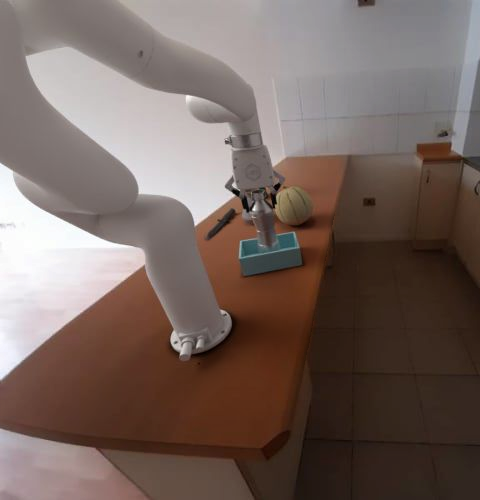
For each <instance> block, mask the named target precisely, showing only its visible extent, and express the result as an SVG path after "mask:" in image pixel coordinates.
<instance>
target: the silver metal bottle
mask: <svg viewBox="0 0 480 500" xmlns="http://www.w3.org/2000/svg"><path fill="white" fill-rule="evenodd" d="M251 195H252V199H253V202H252V204H251V206H250V210H249V212H250V215H251V217H252V220H253V222H254V224H253V225H254V229H255V232H256V238H257V239H258V250H259V253H260V254H263V253H268V252H274V251H279V250H280V243H279V240H278V238H277V235H278V234H277V232H276V227H275V219H274V218H275V217H274V208H273V206H272V203H271V202H269V200H267V199H266V198H267V197H266V195H265V190H262V189H259V190H254V191H252V192H251Z"/></svg>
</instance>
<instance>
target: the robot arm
mask: <svg viewBox="0 0 480 500" xmlns="http://www.w3.org/2000/svg"><path fill="white" fill-rule="evenodd" d="M62 48H71V49H72V50H73V49H74V50H75V51H77V52H79V53H81V54H82V55H85V56H87V57H88V58H90V59H92V60H94V61H96V62H98V63H100V64H101V65H103V66H104V67H105V66H106V67H107V68H109V69H111V70H112V71H115V72H116V73H118V74H120V75H122V76H123V77H125V78H127V79H129V80H130V81H132V82H134V83H136V84H138V85H140V86H142V87H144V88H147V89H150V90H154V91H157V92H162V93H166V94H167V93H168V94H174V95H175V94H176V95H182V96H183V95H184V96H185V105H186V108H187V111H188V112H189V114H190V116H192V117H193V118H194V119H195V120H197V121H199V122H201V123H205V124H225V123H226V126H227V131H228V135H229V136H228V137H227V138H224V139H223V141H224V144H225V145H229V146H231V148H230V149H229V161H230V166H231V167H230V168H231V172H232V175H231V176H230V178H229V179H228V180H227V181H226V183H225V184H224V188H225V189H226V190H227V191H229V192H230V193H232V194H233V195H234V196H236V197H237V198H238V199H240V202H241V205H242V210H243V209H246V212H247V213H249V205H248V200H247V196H245V191H246V190H248V189H256V188H263V187H265V188H268V190H269V191H270V193H269V195H270V200H271V205H272V207H273V210H275V209H276V208H275V205H277V199H276V196H277V193H278V191H279V190H280V188H281V187H282V185H283V184H284V183H285V181H286V177H285V176H284V175H283V174H281V173H279V171H277V170H275V169H274V167H273V163H272V159H271V155H270V152H269V151H270V150H269V149H268V146H267V145H266V144H264V141H263V135H262V130H261V125H260V119H259V113H258V107H257V100H256V96H255V91H254V89H253V87H252V85H251V84H250V83H247V81H246V80H245V79H244V78H243V77H242V76H241V75H240V74H239V73H238V72H236V71H235V70H234V69H233V68H231V66H229V65H228V64H227V63H226V62H224V61H222V60H221V59H219V58H217V57H215V56H213V55H211V54H208V53H206V52H204V51H202V50H199V49H196V48H194V47H192V46H190V45H188V44H185V43H183V42H181V41H179V40H175V39H173V38H171V37H168V36H166V35H164V34H163V33H161V32H160V31H158V30H157V29H155V28H154V27H153V26H152V25H150V24H149V23H148V22H147V21H145V20H144V19H143V18H142V17H140V16H139V15H138V14H137V13H136V12H134V11H133V10H131V9H130V8H129V7H128V6H126V5H125V4H124V3H123V2H121V1H120V0H0V164H1V165H3V166H4V167H6V168H7V169H9V170H11V171H12V179H13V181H14V184H15V186H16V188H17V190H18V191H19V192H20V194H21V195H22V196H23V197H24V198H25V199H26V200H28V201H29V202H30V203H31V204H33V205H34V206H36V207H37V208H39V209H41V210H42V211H44V212H45V213H49V214H51V215H52V216H53V217H56V218H58V219H60V220H62V221H63V222H65V223H68V224H70V225H72V226H73V227H75V228H78V229H79V230H82V231H84V232H86V233H88V234H90V235H93V236H95V237H96V238H98V239H101V240H104V241H106V242H109V243H112V244H116V245H122V246H127V247H133V248H139V249H141V250H142V252H143V253H144V269H145V273H146V276H147V278H148V280H149V282H150V284H151V287H152V288H153V290H154V293H155V294H156V296H157V299H158V301H159V302H160V304H161V307H162V309H163V310H164V312H165V315H166V317H167V318H168V321H169V322H170V325H171V326H172V328H173V331H172V333H171V335H170V344H171V346H172V349H173V350H175V351H176V352H177V353H179V357H178V359H179V361H181V362H188V361H189V360H190V359H191V356H192V355H196V354H200V353H203V352H206V351H209V350H211V349H213V348H215V347H216V346H217V345H219V344H220V343H221V342H223V341H224V340H225V339H226V337H227V336H228V335H229V333H230V332H231V331H232V330H231V329H232V326H233V321H232V318H231V315H230V314H229V313H228V312H227V311H226V310H223V309H220V306H219V303H218V301H217V298H216V295H215V292H214V289H213V286H212V284H211V281H210V278H209V276H208V275H209V274H208V273H207V270H206V267H205V265H204V262H203V258H202V256H201V253H200V249H199V247H198V246H199V245H198V241H197V236H196V226H195V225H196V224H195V220H194V217H193V214H192V212H191V210H190V209H189V208H188V206H186V204H184V203H183V202H181V201H180V200H178V199H176V198H173V197H171V196H167V195H161V194H151V193H150V194H149V193H139V192H140V191H139V190H140V189H139V184H138V181H137V179H136V177H135V175H134V174H133V172H132V171H131V169H130V168H129V167H128V166H127V165H125V163H123V161H121V160H119V159H118V158H117V157H116V156H115V155H113V154H112V153H110V152H109V151H108V150H107V149H106V148H104V147H103V146H102V145H101V144H99V143H97V142H96V140H94V139H93V138H92V137H90V136H89V135H88V134H86V133H85V132H84V131H83V130H81V129H80V128H79V127H77V126H76V125H75V124H74V123H73V122H71V121H70V120H69V119H68V118H67V117H66V116H64V115H63V114H62V113H61V112H60V111H59V110H58V109H56V108H55V107H54V106H53V105H52V104H51V103H50V102H49V100H48V99H47V98H46V97H45V96H44V95H43V94H42V92H41V91H40V89H39V88H38V86H37V84H36V83H35V80H34V79H33V77H32V74H31V71H30V68H29V66H28V62H27V57H28V56H32V55H35V54H38V53H39V54H40V53H42V52H43V53H44V52H47V51H51V50H56V49H62ZM276 178H277V181H276ZM233 184H234V186H235V187H234V186H233Z"/></svg>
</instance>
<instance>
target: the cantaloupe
mask: <svg viewBox="0 0 480 500" xmlns="http://www.w3.org/2000/svg"><path fill="white" fill-rule="evenodd" d="M276 199H277V205H275V208H276V209H274V211H275V214H276V217H277V218H278V219H279V220H280V222H282V223H283V224H285V225H288V226H300V225H301V224H304V223H306V222H307V221H308V220H309V219H311V216H312V215H313V211H314V205H313V201H312V198H311V196H310V194H309V193H308V192H307V191H306V190H305V189H303V188H302V187H299V186H290V187H288V186H286V185H284V186H282V190H280V191H279V192H277V193H276Z"/></svg>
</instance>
